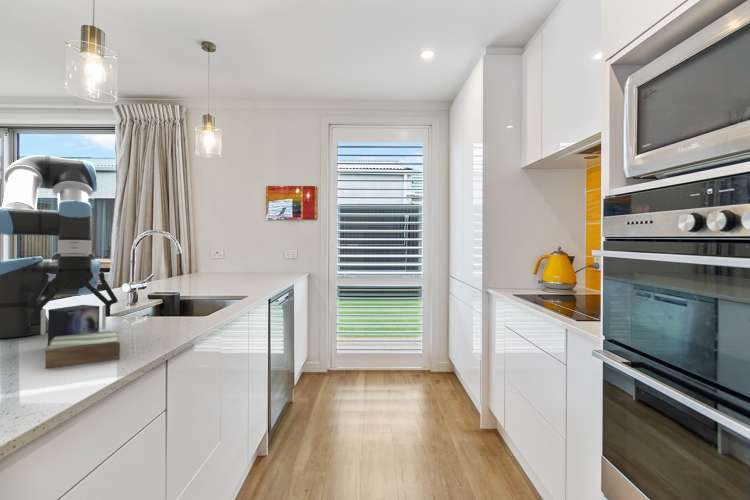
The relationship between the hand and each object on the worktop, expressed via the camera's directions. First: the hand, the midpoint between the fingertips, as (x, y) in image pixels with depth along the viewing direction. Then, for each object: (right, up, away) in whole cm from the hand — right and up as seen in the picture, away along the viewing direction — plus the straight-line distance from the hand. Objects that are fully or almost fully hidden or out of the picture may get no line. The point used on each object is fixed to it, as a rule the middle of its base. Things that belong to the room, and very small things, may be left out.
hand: (74, 330), depth 111 cm
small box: (0, -4, 0) cm, 4 cm away
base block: (+12, -4, -12) cm, 17 cm away
